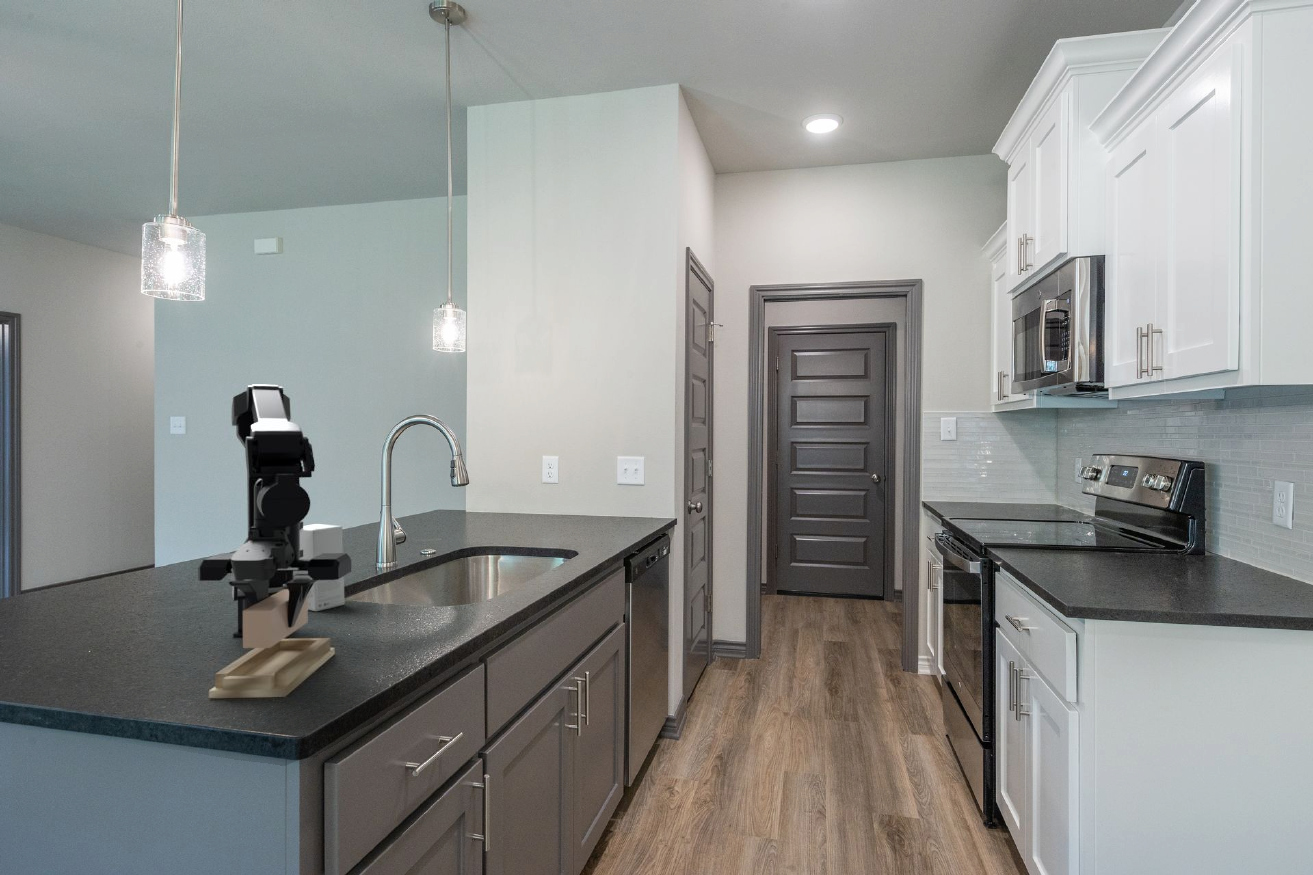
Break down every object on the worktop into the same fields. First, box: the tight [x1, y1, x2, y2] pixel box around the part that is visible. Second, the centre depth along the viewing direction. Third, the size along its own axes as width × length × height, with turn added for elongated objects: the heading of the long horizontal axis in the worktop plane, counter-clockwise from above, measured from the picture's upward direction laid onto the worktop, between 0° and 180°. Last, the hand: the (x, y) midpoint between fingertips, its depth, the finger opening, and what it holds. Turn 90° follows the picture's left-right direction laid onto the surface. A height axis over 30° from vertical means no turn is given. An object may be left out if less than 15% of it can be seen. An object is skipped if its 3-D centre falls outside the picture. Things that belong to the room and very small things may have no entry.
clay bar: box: [242, 589, 309, 649], centre depth 100 cm, size 4×12×5 cm, turn 4°
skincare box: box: [300, 523, 346, 612], centre depth 137 cm, size 8×7×16 cm
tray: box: [208, 637, 336, 699], centre depth 100 cm, size 10×17×3 cm, turn 4°
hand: (277, 626), depth 100 cm, fingers closed on clay bar, 3 cm apart
